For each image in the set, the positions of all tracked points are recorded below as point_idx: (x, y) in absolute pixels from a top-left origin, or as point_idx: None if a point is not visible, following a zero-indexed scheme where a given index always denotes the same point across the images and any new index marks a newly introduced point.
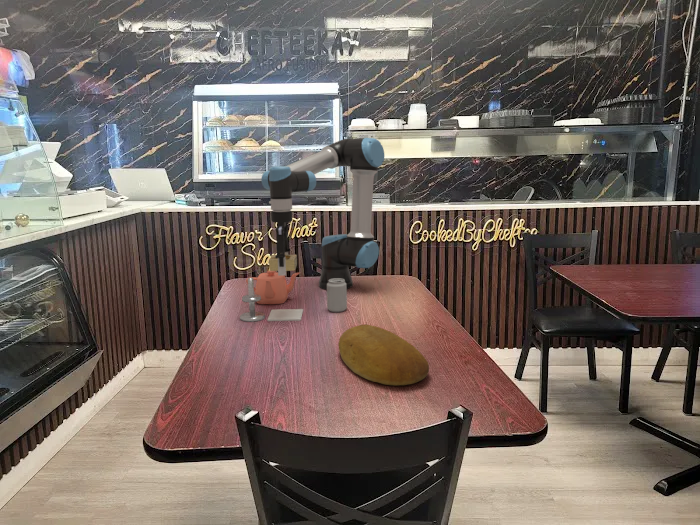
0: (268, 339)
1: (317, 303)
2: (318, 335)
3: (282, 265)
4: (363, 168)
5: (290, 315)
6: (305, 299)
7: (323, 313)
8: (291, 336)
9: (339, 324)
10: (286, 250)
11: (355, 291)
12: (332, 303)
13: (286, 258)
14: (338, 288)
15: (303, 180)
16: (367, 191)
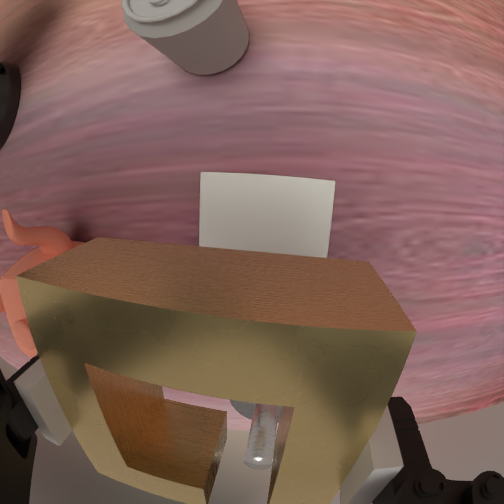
0: (475, 286)
1: (121, 124)
2: (478, 137)
3: (406, 413)
4: None
5: (283, 222)
6: (78, 176)
7: (249, 89)
8: (474, 221)
9: (388, 48)
10: (11, 406)
11: (39, 39)
12: (237, 42)
13: (115, 385)
14: None
15: None
16: None
